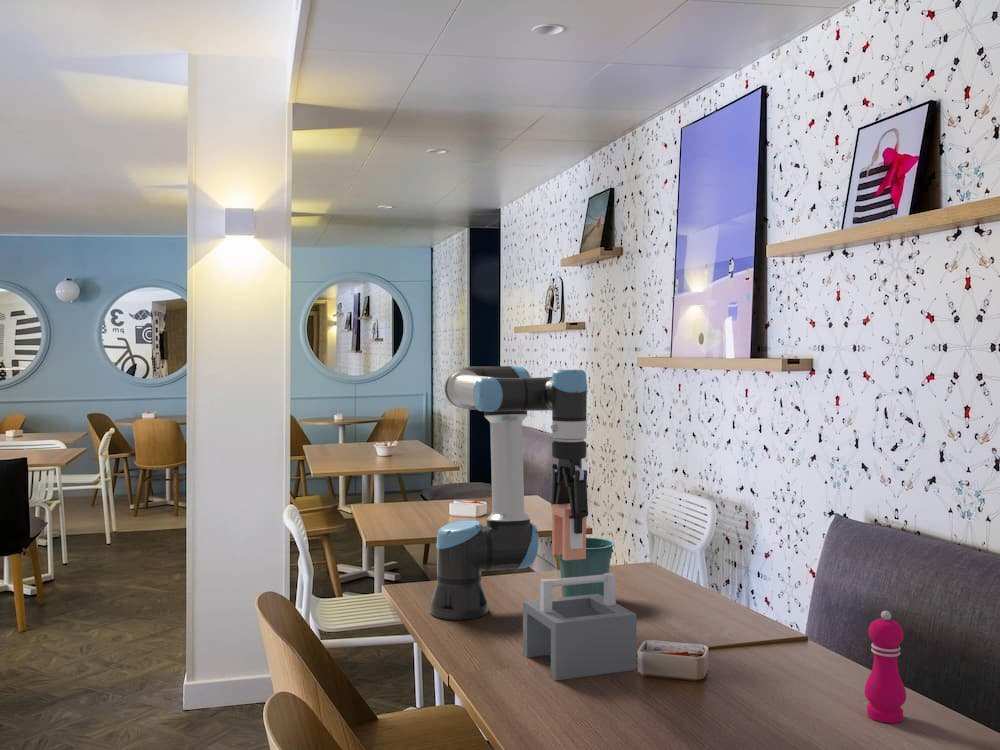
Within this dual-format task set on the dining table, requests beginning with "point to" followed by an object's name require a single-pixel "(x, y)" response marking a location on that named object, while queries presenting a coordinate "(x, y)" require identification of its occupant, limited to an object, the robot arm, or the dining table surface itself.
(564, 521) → the coral u-channel block
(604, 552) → the flower pot
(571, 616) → the gray square frame
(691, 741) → the dining table surface
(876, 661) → the pepper mill
